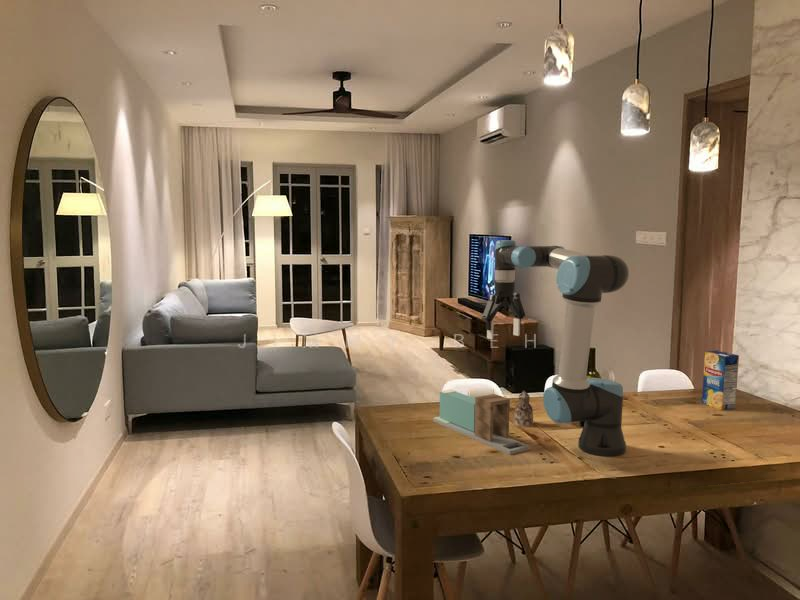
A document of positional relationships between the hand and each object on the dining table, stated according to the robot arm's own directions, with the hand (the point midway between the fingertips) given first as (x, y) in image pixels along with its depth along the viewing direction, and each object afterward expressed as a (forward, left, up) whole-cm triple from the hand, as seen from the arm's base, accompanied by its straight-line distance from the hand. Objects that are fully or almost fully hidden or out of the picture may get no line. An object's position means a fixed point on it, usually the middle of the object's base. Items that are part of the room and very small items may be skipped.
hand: (503, 337), depth 252 cm
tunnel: (-19, +22, -30) cm, 41 cm away
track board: (-12, +22, -31) cm, 40 cm away
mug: (+15, -2, -31) cm, 35 cm away
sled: (-3, +22, -29) cm, 37 cm away
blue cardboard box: (-36, -86, -31) cm, 98 cm away
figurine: (-11, -1, -31) cm, 33 cm away
